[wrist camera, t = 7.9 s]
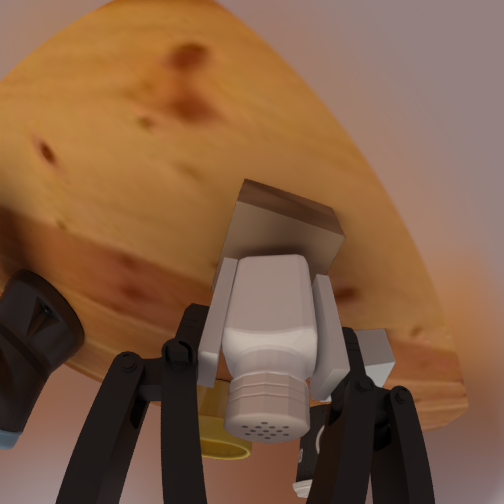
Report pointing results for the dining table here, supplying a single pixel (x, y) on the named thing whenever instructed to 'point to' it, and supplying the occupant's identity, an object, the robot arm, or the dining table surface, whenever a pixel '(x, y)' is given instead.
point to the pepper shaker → (270, 349)
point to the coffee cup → (309, 451)
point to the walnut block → (281, 228)
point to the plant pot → (218, 424)
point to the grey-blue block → (375, 355)
